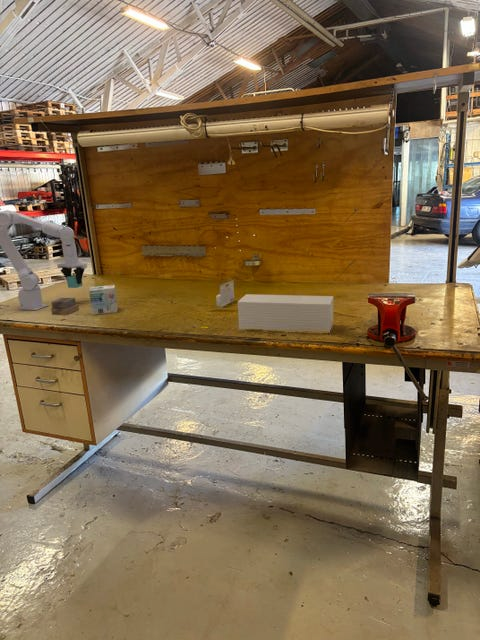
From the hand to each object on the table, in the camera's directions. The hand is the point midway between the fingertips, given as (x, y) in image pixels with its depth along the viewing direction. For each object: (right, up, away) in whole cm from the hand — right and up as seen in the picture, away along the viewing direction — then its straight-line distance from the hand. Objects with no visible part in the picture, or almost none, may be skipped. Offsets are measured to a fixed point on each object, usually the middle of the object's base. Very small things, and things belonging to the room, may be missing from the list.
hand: (75, 283), depth 209 cm
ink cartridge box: (+70, -10, -12) cm, 72 cm away
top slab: (0, -11, -12) cm, 16 cm away
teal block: (0, -1, 0) cm, 1 cm away
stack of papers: (+93, -20, -47) cm, 106 cm away
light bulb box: (+18, -13, -14) cm, 26 cm away
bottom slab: (0, -14, -11) cm, 18 cm away
